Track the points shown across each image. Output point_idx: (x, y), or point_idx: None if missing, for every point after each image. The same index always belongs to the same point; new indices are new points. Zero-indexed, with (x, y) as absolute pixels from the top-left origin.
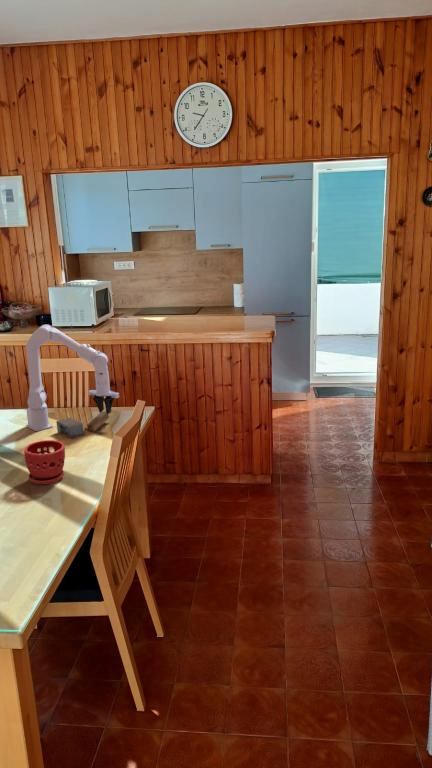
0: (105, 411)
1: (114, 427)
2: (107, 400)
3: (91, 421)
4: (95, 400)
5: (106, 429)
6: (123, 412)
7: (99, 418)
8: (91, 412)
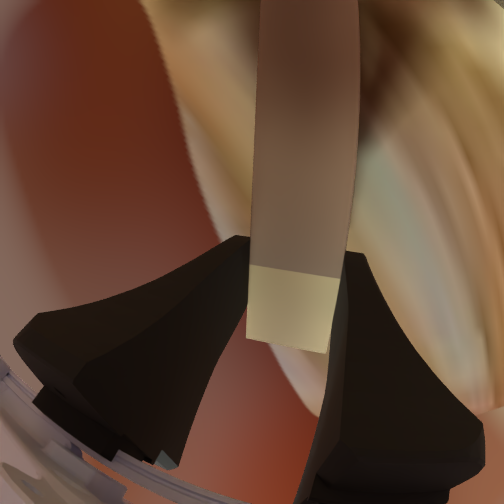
0: (286, 276)
1: (189, 142)
2: (30, 323)
3: (344, 10)
4: (411, 405)
5: (218, 76)
6: (313, 389)
7: (272, 91)
8: (491, 370)
